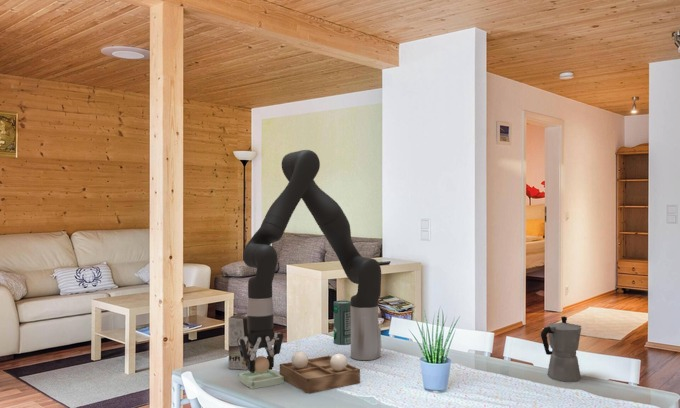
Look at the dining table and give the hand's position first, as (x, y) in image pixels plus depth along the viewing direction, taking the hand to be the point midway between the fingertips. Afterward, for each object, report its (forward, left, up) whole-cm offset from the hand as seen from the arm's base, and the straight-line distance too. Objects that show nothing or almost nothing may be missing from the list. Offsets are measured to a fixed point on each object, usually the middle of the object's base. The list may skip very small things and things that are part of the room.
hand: (260, 370), depth 173 cm
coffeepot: (-76, +45, -3) cm, 88 cm away
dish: (0, 0, -3) cm, 3 cm away
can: (-44, -25, -3) cm, 51 cm away
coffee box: (-2, -18, -3) cm, 18 cm away
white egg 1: (-11, +4, +2) cm, 12 cm away
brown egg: (0, 0, +2) cm, 2 cm away
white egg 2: (-19, +12, +2) cm, 23 cm away
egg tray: (-15, +8, -3) cm, 17 cm away
